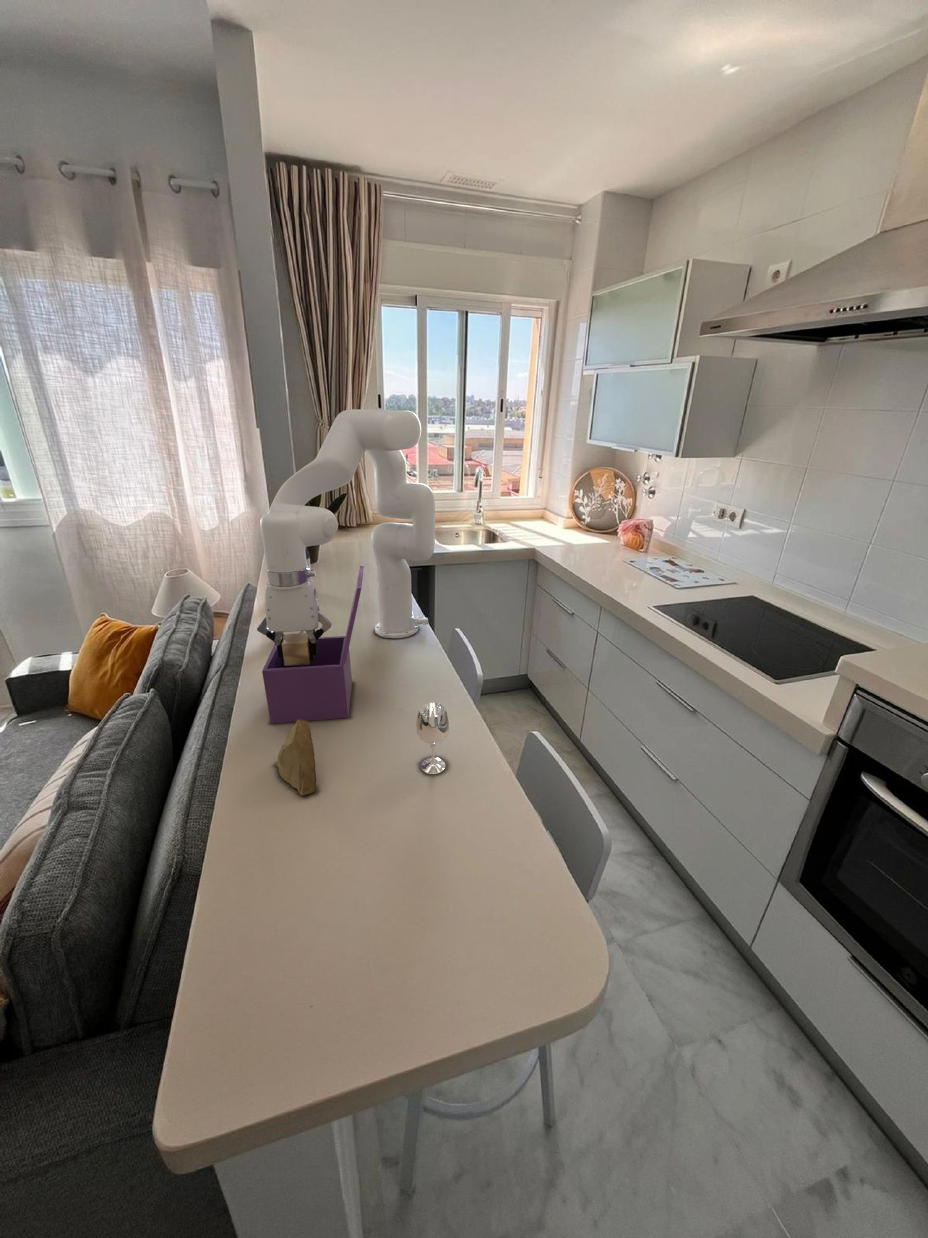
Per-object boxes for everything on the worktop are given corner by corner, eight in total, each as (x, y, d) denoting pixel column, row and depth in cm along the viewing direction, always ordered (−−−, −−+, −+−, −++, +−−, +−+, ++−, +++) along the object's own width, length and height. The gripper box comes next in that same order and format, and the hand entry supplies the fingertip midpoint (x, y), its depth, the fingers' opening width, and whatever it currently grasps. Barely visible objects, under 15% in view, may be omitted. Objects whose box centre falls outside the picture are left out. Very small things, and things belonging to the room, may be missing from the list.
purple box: (270, 723, 101) (261, 670, 97) (283, 687, 115) (276, 639, 110) (348, 718, 104) (343, 665, 99) (352, 683, 117) (348, 635, 112)
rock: (330, 785, 81) (336, 741, 90) (292, 757, 77) (301, 715, 86) (282, 816, 84) (292, 770, 92) (242, 791, 80) (256, 746, 88)
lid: (357, 587, 93) (361, 588, 93) (360, 565, 106) (363, 566, 107) (341, 663, 99) (345, 664, 99) (346, 633, 112) (349, 634, 112)
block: (312, 653, 107) (310, 632, 105) (309, 664, 103) (307, 642, 101) (288, 655, 107) (285, 634, 105) (284, 665, 102) (281, 644, 100)
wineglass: (453, 759, 91) (453, 704, 87) (442, 779, 86) (441, 722, 82) (424, 753, 93) (423, 698, 89) (412, 772, 88) (410, 715, 83)
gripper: (334, 569, 102) (341, 648, 109) (247, 572, 100) (260, 653, 107) (330, 580, 95) (338, 664, 102) (237, 584, 93) (252, 669, 100)
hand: (298, 657), depth 104 cm, fingers closed on block, 5 cm apart
